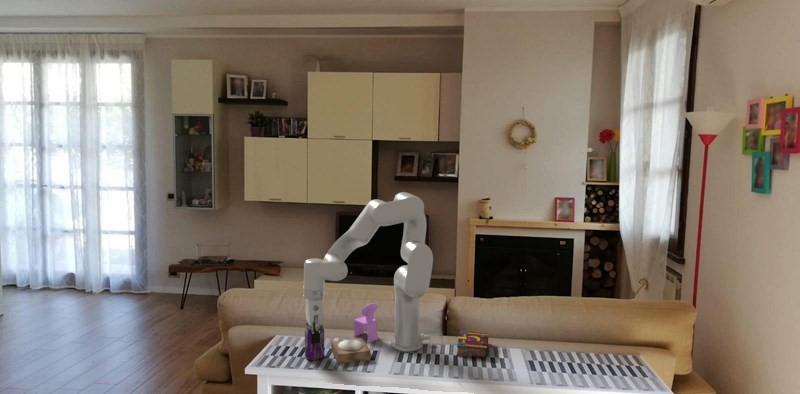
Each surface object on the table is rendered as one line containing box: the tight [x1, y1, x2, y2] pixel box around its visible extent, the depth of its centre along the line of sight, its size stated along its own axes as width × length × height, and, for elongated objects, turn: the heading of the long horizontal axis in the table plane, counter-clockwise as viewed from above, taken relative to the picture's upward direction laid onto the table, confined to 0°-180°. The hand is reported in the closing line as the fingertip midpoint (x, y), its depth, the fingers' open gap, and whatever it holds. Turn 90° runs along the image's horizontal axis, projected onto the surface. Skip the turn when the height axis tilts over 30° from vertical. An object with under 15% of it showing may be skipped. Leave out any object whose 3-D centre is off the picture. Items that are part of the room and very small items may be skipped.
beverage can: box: [304, 324, 325, 361], centre depth 198 cm, size 7×7×12 cm
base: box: [330, 337, 371, 365], centre depth 201 cm, size 12×12×4 cm
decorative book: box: [456, 330, 489, 359], centre depth 207 cm, size 11×16×5 cm
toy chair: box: [353, 302, 380, 344], centre depth 216 cm, size 8×9×15 cm
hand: (312, 338), depth 197 cm, fingers open, 9 cm apart
